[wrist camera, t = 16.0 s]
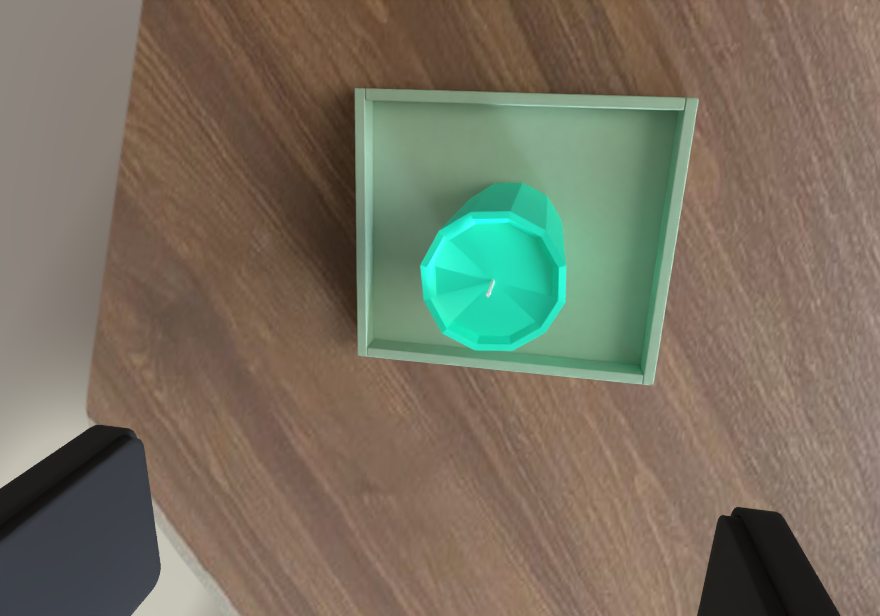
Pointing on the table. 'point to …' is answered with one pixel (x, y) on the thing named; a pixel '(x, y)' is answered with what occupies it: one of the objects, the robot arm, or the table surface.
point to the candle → (497, 269)
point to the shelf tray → (546, 170)
